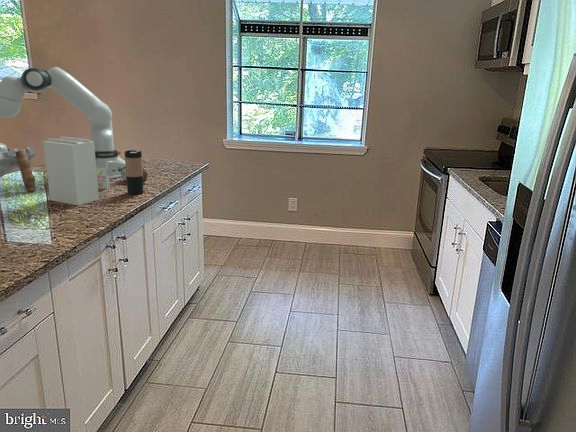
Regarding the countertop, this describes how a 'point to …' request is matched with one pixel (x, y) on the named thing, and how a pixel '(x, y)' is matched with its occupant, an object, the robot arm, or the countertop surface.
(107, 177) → the small grey carton
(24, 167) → the wooden turned rod
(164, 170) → the countertop surface
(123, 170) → the tin
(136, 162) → the travel mug
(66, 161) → the gray stand
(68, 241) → the countertop surface
